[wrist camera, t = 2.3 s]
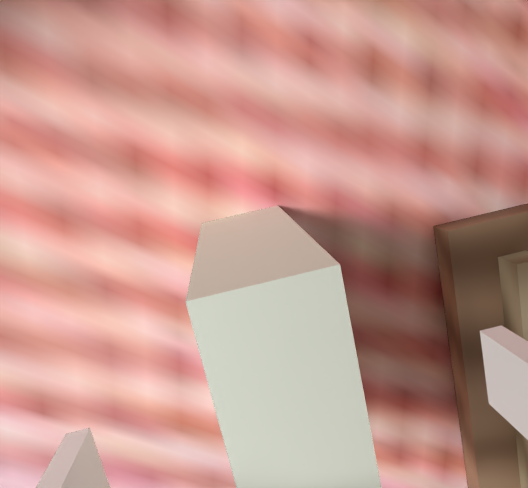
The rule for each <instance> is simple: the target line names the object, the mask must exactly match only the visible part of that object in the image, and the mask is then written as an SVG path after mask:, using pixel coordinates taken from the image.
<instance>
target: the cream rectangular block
mask: <svg viewBox="0 0 528 488" xmlns="http://www.w3.org/2000/svg"><path fill="white" fill-rule="evenodd" d="M186 305H187V309H188V312H189V316H190V319H191V323H192V327H193V330H194V334H195V338H196V341H197V345H198V349H199V352H200V356H201V360H202V363H203V367H204V371H205V374H206V378H207V382H208V385H209V389H210V393H211V396H212V400H213V404H214V407H215V411H216V414H217V418H218V422H219V425H220V429H221V433H222V436H223V440H224V444H225V447H226V451H227V455H228V458H229V462H230V466H231V469H232V473H233V477H234V480H235V484H236V488H381V483H380V477H379V472H378V467H377V461H376V456H375V450H374V445H373V440H372V434H371V429H370V423H369V418H368V413H367V407H366V402H365V396H364V391H363V385H362V380H361V375H360V369H359V364H358V358H357V353H356V348H355V342H354V337H353V331H352V326H351V321H350V315H349V310H348V304H347V299H346V294H345V288H344V283H343V277H342V272H341V267H340V264H339V263H338V262H337V261H336V260H335V259H334V258H333V257H332V256H331V255H330V254H329V253H328V252H327V251H325V250H324V249H323V248H322V247H321V246H320V245H319V244H318V243H317V242H316V241H315V240H314V239H313V238H312V237H311V236H310V235H309V234H307V233H306V232H305V231H304V230H303V229H302V228H301V227H300V226H299V225H298V224H297V223H296V222H295V221H294V220H293V219H292V218H291V217H290V216H288V215H287V214H286V213H285V212H284V211H283V210H282V209H281V208H280V207H279V206H274V207H269V208H265V209H261V210H256V211H252V212H248V213H243V214H239V215H235V216H230V217H226V218H222V219H218V220H213V221H209V222H205V223H202V225H201V230H200V234H199V239H198V244H197V249H196V254H195V259H194V263H193V268H192V273H191V278H190V283H189V288H188V292H187V297H186Z"/></svg>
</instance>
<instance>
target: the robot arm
mask: <svg viewBox="0 0 528 488" xmlns="http://www.w3.org/2000/svg"><path fill="white" fill-rule="evenodd" d="M480 337H481V345H482V353H483V361H484V369H485V378H486V386H487V394H488V402H489V404H490V405H491V406H492V407H493V408H494V409H495V410H496V411H497V412H498V413H499V414H500V415H502V416H503V417H504V418H505V419H506V420H507V421H508V422H509V423H510V424H511V425H512V426H513V427H514V428H515V429H517V430H518V431H519V432H520V433H521V434H522V435H523V436H524V437H525V438H526V439H527V440H528V341H526V340H525V339H523V338H521V337H520V336H518V335H516V334H515V333H513V332H512V331H510V330H508V329H507V328H505V327H503V326H502V325H501V326H497V327H493V328H489V329H485V330H481V331H480ZM36 488H110V486H109V483H108V480H107V477H106V474H105V471H104V468H103V465H102V462H101V459H100V456H99V453H98V450H97V447H96V445H95V442H94V439H93V436H92V433H91V430H90V428H88V429H84V430H80V431H76V432H72V433H68V434H66V435H65V437H64V438H63V440H62V442H61V444H60V446H59V447H58V449H57V451H56V453H55V455H54V456H53V458H52V460H51V462H50V463H49V465H48V467H47V469H46V471H45V472H44V474H43V476H42V478H41V480H40V481H39V483H38V485H37V487H36Z"/></svg>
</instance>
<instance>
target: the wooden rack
mask: <svg viewBox="0 0 528 488" xmlns="http://www.w3.org/2000/svg"><path fill="white" fill-rule="evenodd" d="M434 233H435V241H436V248H437V256H438V263H439V271H440V279H441V286H442V294H443V301H444V309H445V317H446V324H447V332H448V339H449V347H450V354H451V362H452V370H453V377H454V385H455V392H456V400H457V408H458V415H459V423H460V430H461V438H462V445H463V453H464V461H465V468H466V476H467V483H468V488H528V440H527V439H526V438H525V437H524V436H523V435H522V434H521V433H520V432H519V431H518V430H517V429H515V428H514V427H513V426H512V425H511V424H510V423H509V422H508V421H507V420H506V419H505V418H504V417H503V416H502V415H500V414H499V413H498V412H497V411H496V410H495V409H494V408H493V407H492V406H491V405H490V404H489V402H488V394H487V386H486V378H485V369H484V361H483V353H482V345H481V337H480V331H481V330H485V329H489V328H493V327H497V326H501V325H502V326H503V327H505V328H507V329H508V330H510V331H512V332H513V333H515V334H516V335H518V336H520V337H521V338H523V339H525V340H526V341H528V204H524V205H520V206H516V207H512V208H508V209H503V210H499V211H495V212H491V213H487V214H482V215H478V216H474V217H470V218H466V219H462V220H457V221H453V222H449V223H445V224H441V225H436V226H434Z"/></svg>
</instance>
